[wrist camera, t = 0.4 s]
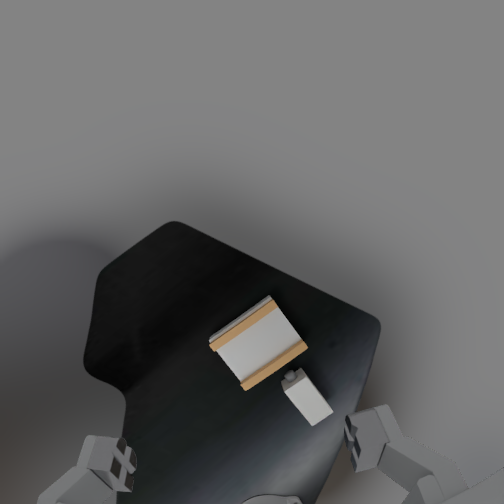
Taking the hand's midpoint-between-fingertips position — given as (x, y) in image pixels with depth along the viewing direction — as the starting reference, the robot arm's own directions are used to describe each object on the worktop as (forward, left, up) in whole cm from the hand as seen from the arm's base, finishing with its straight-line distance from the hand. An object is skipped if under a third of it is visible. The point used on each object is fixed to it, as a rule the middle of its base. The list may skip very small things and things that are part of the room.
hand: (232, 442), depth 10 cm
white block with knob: (-23, +1, -52) cm, 56 cm away
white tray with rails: (-8, +2, -51) cm, 52 cm away
